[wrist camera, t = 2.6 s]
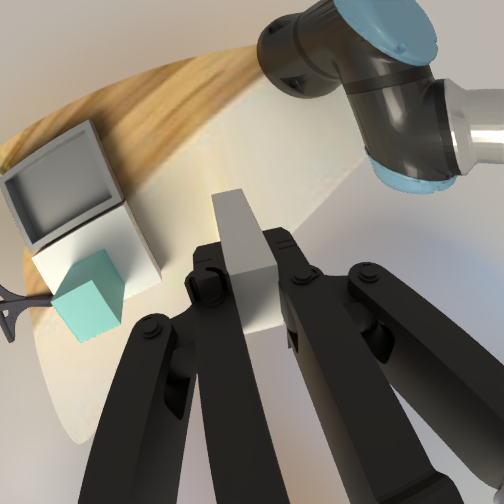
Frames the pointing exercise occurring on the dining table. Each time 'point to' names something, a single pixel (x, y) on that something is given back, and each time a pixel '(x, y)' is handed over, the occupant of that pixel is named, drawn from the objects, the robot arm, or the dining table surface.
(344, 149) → the dining table surface
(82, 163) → the tray
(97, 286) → the block
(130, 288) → the white flat box
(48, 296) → the bracket
